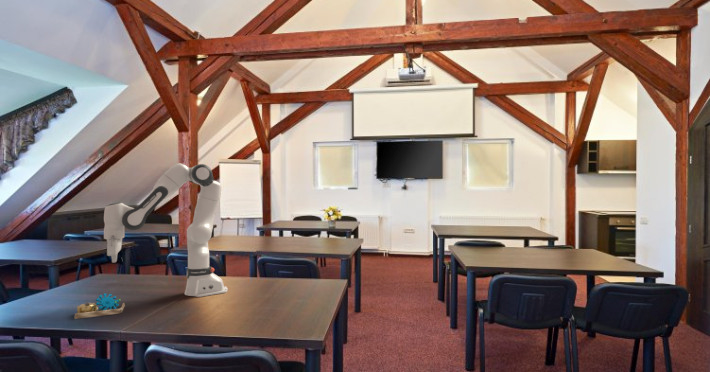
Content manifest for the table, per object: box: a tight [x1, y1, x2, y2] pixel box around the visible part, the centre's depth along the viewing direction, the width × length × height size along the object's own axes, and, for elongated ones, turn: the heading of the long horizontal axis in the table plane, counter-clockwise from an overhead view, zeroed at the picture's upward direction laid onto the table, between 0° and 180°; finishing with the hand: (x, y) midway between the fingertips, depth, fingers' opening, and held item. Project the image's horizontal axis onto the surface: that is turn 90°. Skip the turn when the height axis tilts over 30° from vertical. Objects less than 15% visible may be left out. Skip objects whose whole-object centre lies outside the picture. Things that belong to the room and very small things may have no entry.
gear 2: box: [95, 293, 121, 311], centre depth 178 cm, size 11×6×10 cm
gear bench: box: [74, 302, 126, 320], centre depth 175 cm, size 18×12×2 cm
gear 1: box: [76, 301, 98, 313], centre depth 173 cm, size 7×7×4 cm
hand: (114, 262), depth 189 cm, fingers closed
